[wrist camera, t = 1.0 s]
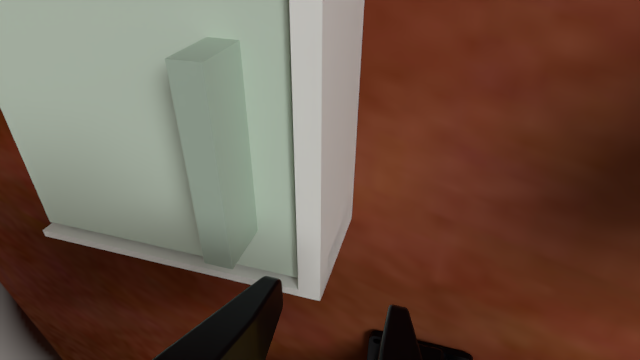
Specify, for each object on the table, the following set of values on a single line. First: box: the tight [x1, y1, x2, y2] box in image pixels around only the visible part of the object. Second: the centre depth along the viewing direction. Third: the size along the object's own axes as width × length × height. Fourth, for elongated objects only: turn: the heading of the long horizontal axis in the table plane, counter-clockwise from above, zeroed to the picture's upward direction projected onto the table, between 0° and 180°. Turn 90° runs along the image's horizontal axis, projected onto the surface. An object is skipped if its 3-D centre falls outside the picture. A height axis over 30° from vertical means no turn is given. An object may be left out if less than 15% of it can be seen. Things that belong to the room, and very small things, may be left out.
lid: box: [0, 0, 298, 277], centre depth 17 cm, size 13×14×3 cm
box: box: [43, 0, 364, 301], centre depth 19 cm, size 14×15×6 cm
